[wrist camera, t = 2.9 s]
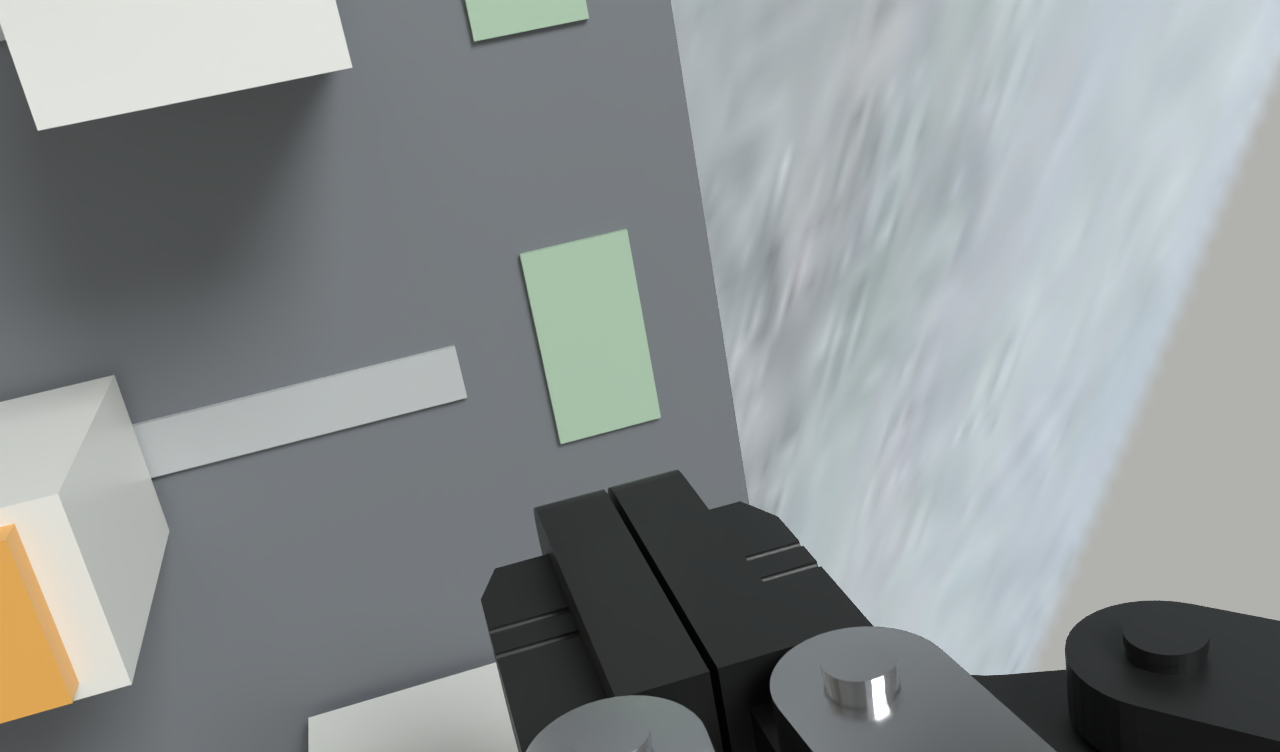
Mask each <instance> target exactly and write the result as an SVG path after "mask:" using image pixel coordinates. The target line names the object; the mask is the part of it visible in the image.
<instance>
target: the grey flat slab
mask: <svg viewBox="0 0 1280 752" xmlns="http://www.w3.org/2000/svg"><path fill="white" fill-rule="evenodd" d="M336 4H337V8H338V12H339V16H340V20H341V24H342V28H343V32H344V36H345V40H346V44H347V48H348V52H349V56H350V60H351V64H352V68H348V69H343V70H338V71H333V72H328V73H323V74H318V75H313V76H308V77H303V78H298V79H293V80H288V81H283V82H278V83H273V84H268V85H263V86H258V87H253V88H248V89H244V90H239V91H234V92H229V93H224V94H219V95H214V96H209V97H204V98H199V99H194V100H189V101H184V102H179V103H174V104H169V105H164V106H159V107H154V108H149V109H144V110H139V111H134V112H129V113H124V114H119V115H114V116H109V117H104V118H99V119H94V120H89V121H84V122H79V123H74V124H69V125H64V126H59V127H54V128H49V129H44V130H39V131H38V130H37V127H36V124H35V121H34V119H33V116H32V113H31V110H30V107H29V104H28V102H27V99H26V96H25V93H24V90H23V87H22V84H21V82H20V79H19V76H18V73H17V70H16V67H15V64H14V62H13V59H12V56H11V53H10V50H9V47H8V45H7V42H6V39H5V36H4V33H3V30H2V27H1V25H0V402H2V401H7V400H11V399H15V398H19V397H23V396H28V395H32V394H36V393H40V392H44V391H49V390H53V389H57V388H61V387H65V386H70V385H74V384H78V383H82V382H86V381H91V380H95V379H99V378H103V377H107V376H112V375H115V378H116V381H117V384H118V386H119V389H120V392H121V395H122V398H123V401H124V403H125V406H126V409H127V412H128V415H129V418H130V420H131V423H132V426H133V429H134V432H135V435H136V437H137V440H138V443H139V446H140V449H141V451H142V454H143V457H144V460H145V463H146V466H147V468H148V471H149V474H150V477H151V480H152V483H153V485H154V488H155V491H156V494H157V497H158V500H159V502H160V505H161V508H162V511H163V514H164V517H165V519H166V522H167V525H168V528H169V535H168V539H167V543H166V547H165V551H164V555H163V559H162V563H161V567H160V571H159V576H158V580H157V584H156V588H155V592H154V596H153V600H152V604H151V608H150V612H149V616H148V620H147V624H146V628H145V633H144V637H143V641H142V645H141V649H140V653H139V657H138V661H137V665H136V669H135V673H134V677H133V681H132V685H129V686H125V687H121V688H118V689H114V690H111V691H107V692H104V693H100V694H97V695H93V696H90V697H86V698H83V699H79V700H76V701H73V703H71V704H68V705H64V706H61V707H57V708H54V709H50V710H47V711H43V712H40V713H36V714H32V715H29V716H25V717H22V718H18V719H15V720H11V721H8V722H4V723H1V724H0V752H308V718H309V717H313V716H316V715H319V714H323V713H326V712H329V711H333V710H336V709H340V708H343V707H346V706H350V705H353V704H357V703H360V702H363V701H367V700H370V699H373V698H377V697H380V696H384V695H387V694H390V693H394V692H397V691H401V690H404V689H407V688H411V687H414V686H417V685H421V684H424V683H428V682H431V681H434V680H438V679H441V678H445V677H448V676H451V675H455V674H458V673H461V672H465V671H468V670H472V669H475V668H478V667H482V666H485V665H489V664H492V663H495V662H496V660H495V656H494V652H493V648H492V644H491V640H490V636H489V632H488V628H487V624H486V619H485V615H484V611H483V607H482V603H481V598H482V596H483V593H484V591H485V589H486V587H487V585H488V582H489V580H490V578H491V576H492V574H493V572H494V569H495V568H498V567H502V566H506V565H509V564H513V563H517V562H520V561H524V560H528V559H531V558H535V557H539V556H542V551H541V547H540V542H539V538H538V533H537V528H536V523H535V517H534V507H538V506H542V505H546V504H550V503H553V502H557V501H561V500H565V499H568V498H572V497H576V496H580V495H583V494H587V493H591V492H595V491H598V490H602V489H604V490H605V491H606V493H607V494H608V488H609V487H613V486H616V485H620V484H624V483H628V482H632V481H635V480H639V479H643V478H647V477H650V476H654V475H658V474H662V473H665V472H669V471H673V470H677V469H678V470H679V471H680V472H681V473H682V474H683V475H684V477H685V478H686V479H687V481H688V482H689V483H690V485H691V486H692V487H693V489H694V490H695V491H696V493H697V494H698V495H699V497H700V498H701V499H702V501H703V502H704V503H705V505H706V506H707V507H708V509H709V510H710V509H713V508H717V507H721V506H724V505H728V504H732V503H735V502H739V501H741V502H743V503H746V504H748V505H749V501H748V494H747V488H746V482H745V475H744V469H743V462H742V456H741V450H740V443H739V437H738V430H737V424H736V417H735V411H734V405H733V398H732V392H731V385H730V379H729V373H728V366H727V360H726V353H725V347H724V340H723V334H722V328H721V321H720V315H719V308H718V302H717V296H716V289H715V283H714V276H713V270H712V263H711V257H710V251H709V244H708V238H707V231H706V225H705V219H704V212H703V206H702V199H701V193H700V186H699V180H698V174H697V167H696V161H695V154H694V148H693V142H692V135H691V129H690V122H689V116H688V109H687V103H686V97H685V90H684V84H683V77H682V71H681V65H680V58H679V52H678V45H677V39H676V33H675V26H674V20H673V13H672V7H671V0H336Z"/></svg>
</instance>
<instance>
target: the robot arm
mask: <svg viewBox="0 0 1280 752" xmlns="http://www.w3.org/2000/svg"><path fill="white" fill-rule="evenodd" d="M534 517H535V523H536V528H537V533H538V538H539V542H540V547H541V551H542V556H539V557H535V558H531V559H528V560H524V561H520V562H517V563H513V564H509V565H506V566H502V567H498V568H495V569H494V572H493V574H492V576H491V578H490V580H489V582H488V585H487V587H486V589H485V591H484V593H483V596H482V598H481V603H482V607H483V611H484V615H485V619H486V624H487V628H488V632H489V636H490V640H491V644H492V648H493V652H494V656H495V660H496V664H497V668H498V672H499V677H500V681H501V685H502V689H503V693H504V697H505V701H506V705H507V709H508V713H509V717H510V721H511V725H512V730H513V733H514V737H515V741H516V745H517V748H518V752H1280V621H1277V620H1272V619H1266V618H1262V617H1256V616H1251V615H1246V614H1240V613H1235V612H1230V611H1225V610H1220V609H1215V608H1209V607H1204V606H1199V605H1194V604H1188V603H1181V602H1173V601H1138V602H1129V603H1123V604H1119V605H1114V606H1110V607H1107V608H1104V609H1102V610H1099V611H1096V612H1095V613H1093V614H1091V615H1089V616H1087V617H1086V618H1084V619H1083V620H1082V621H1080V622H1079V623H1077V624H1076V626H1075V627H1074V628H1073V629H1072V630H1071V631H1070V633H1069V635H1068V637H1067V640H1066V646H1065V658H1066V670H1057V671H1045V672H1033V673H1021V674H1009V675H990V676H981V675H970V674H969V673H968V672H966V671H965V670H964V669H963V668H962V667H961V666H960V665H959V664H957V663H956V662H955V661H954V660H953V659H952V658H951V657H950V656H948V655H947V654H946V653H945V652H944V651H943V650H942V649H941V648H939V647H938V646H936V645H935V644H934V643H932V642H931V641H929V640H927V639H925V638H923V637H921V636H919V635H916V634H913V633H910V632H907V631H903V630H898V629H894V628H886V627H874V626H873V625H872V624H871V623H870V622H869V621H868V620H867V618H866V617H865V616H864V615H863V614H862V613H861V612H860V610H859V609H858V608H857V607H856V606H855V605H854V604H853V602H852V601H851V600H850V599H849V598H848V597H847V595H846V594H845V593H844V592H843V591H842V590H841V589H840V587H839V586H838V585H837V584H836V583H835V582H834V581H833V579H832V578H831V577H830V576H829V575H828V574H827V573H826V571H825V570H824V569H823V568H822V567H818V565H817V561H816V560H815V559H814V558H813V556H812V555H811V554H810V553H809V552H808V551H807V550H806V548H805V547H804V546H802V547H801V546H800V543H799V540H798V539H797V538H796V537H795V536H794V535H793V533H792V532H791V531H790V530H789V529H788V528H787V527H786V525H785V524H784V523H783V522H782V521H781V520H780V519H779V517H777V516H775V515H772V514H770V513H768V512H765V511H763V510H760V509H758V508H756V507H753V506H751V505H748V504H746V503H743V502H741V501H739V502H735V503H732V504H728V505H724V506H721V507H717V508H713V509H710V510H709V509H708V507H707V506H706V505H705V503H704V502H703V501H702V499H701V498H700V497H699V495H698V494H697V493H696V491H695V490H694V489H693V487H692V486H691V485H690V483H689V482H688V481H687V479H686V478H685V477H684V475H683V474H682V473H681V472H680V471H679V470H678V469H677V470H673V471H669V472H665V473H662V474H658V475H654V476H650V477H647V478H643V479H639V480H635V481H632V482H628V483H624V484H620V485H616V486H613V487H609V488H608V494H607V493H606V491H605V490H604V489H602V490H598V491H595V492H591V493H587V494H583V495H580V496H576V497H572V498H568V499H565V500H561V501H557V502H553V503H550V504H546V505H542V506H538V507H534Z"/></svg>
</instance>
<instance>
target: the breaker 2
mask: <svg viewBox="0 0 1280 752" xmlns="http://www.w3.org/2000/svg"><path fill="white" fill-rule="evenodd" d="M308 752H518V748H517V745H516V741H515V737H514V733H513V730H512V725H511V721H510V717H509V713H508V709H507V705H506V701H505V697H504V693H503V689H502V685H501V681H500V677H499V672H498V668H497V664H496V662H495V663H492V664H489V665H485V666H482V667H478V668H475V669H472V670H468V671H465V672H461V673H458V674H455V675H451V676H448V677H445V678H441V679H438V680H434V681H431V682H428V683H424V684H421V685H417V686H414V687H411V688H407V689H404V690H401V691H397V692H394V693H390V694H387V695H384V696H380V697H377V698H373V699H370V700H367V701H363V702H360V703H357V704H353V705H350V706H346V707H343V708H340V709H336V710H333V711H329V712H326V713H323V714H319V715H316V716H313V717H309V718H308Z"/></svg>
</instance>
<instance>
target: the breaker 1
mask: <svg viewBox="0 0 1280 752" xmlns="http://www.w3.org/2000/svg"><path fill="white" fill-rule="evenodd" d="M0 25H1V27H2V30H3V33H4V36H5V39H6V42H7V45H8V47H9V50H10V53H11V56H12V59H13V62H14V64H15V67H16V70H17V73H18V76H19V79H20V82H21V84H22V87H23V90H24V93H25V96H26V99H27V102H28V104H29V107H30V110H31V113H32V116H33V119H34V121H35V124H36V127H37V130H38V131H39V130H44V129H49V128H54V127H59V126H64V125H69V124H74V123H79V122H84V121H89V120H94V119H99V118H104V117H109V116H114V115H119V114H124V113H129V112H134V111H139V110H144V109H149V108H154V107H159V106H164V105H169V104H174V103H179V102H184V101H189V100H194V99H199V98H204V97H209V96H214V95H219V94H224V93H229V92H234V91H239V90H244V89H248V88H253V87H258V86H263V85H268V84H273V83H278V82H283V81H288V80H293V79H298V78H303V77H308V76H313V75H318V74H323V73H328V72H333V71H338V70H343V69H348V68H352V64H351V60H350V56H349V52H348V48H347V44H346V40H345V36H344V32H343V28H342V24H341V20H340V16H339V12H338V8H337V4H336V0H0Z"/></svg>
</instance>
